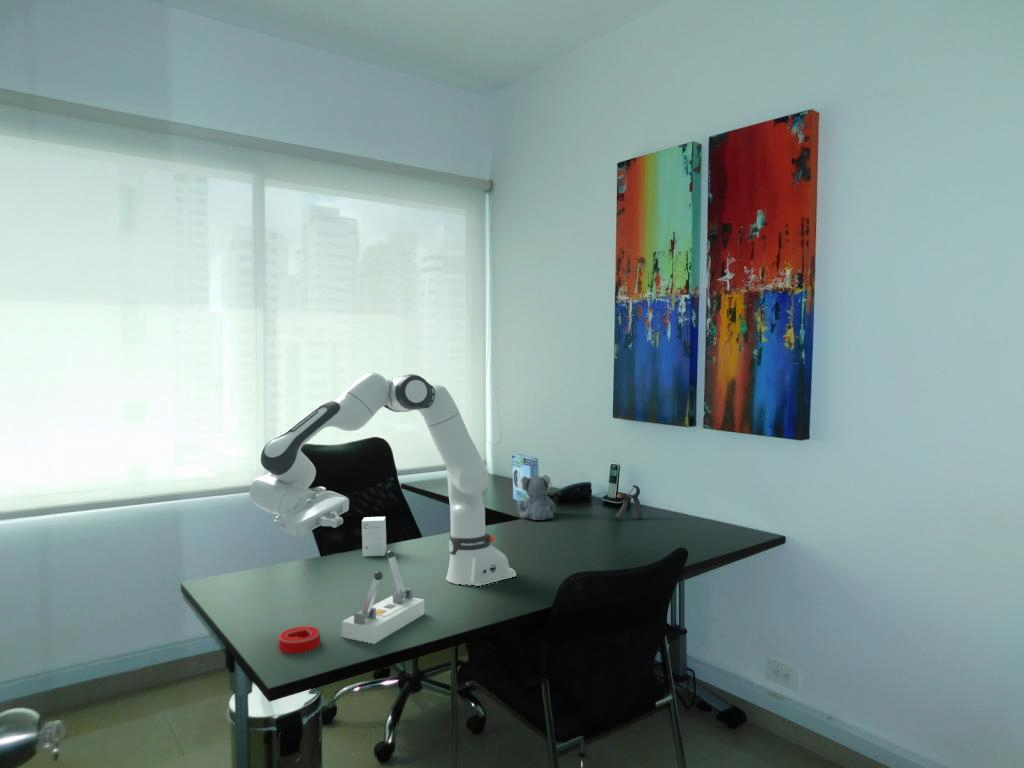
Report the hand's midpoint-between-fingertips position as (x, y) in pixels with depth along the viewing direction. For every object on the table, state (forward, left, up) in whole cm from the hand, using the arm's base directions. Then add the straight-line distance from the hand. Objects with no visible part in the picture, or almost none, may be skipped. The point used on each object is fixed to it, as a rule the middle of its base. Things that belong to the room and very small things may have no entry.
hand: (339, 523), depth 176 cm
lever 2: (-17, 0, -22) cm, 27 cm away
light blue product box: (-114, -120, -27) cm, 168 cm away
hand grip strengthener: (-137, -65, -27) cm, 155 cm away
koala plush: (-104, -87, -27) cm, 138 cm away
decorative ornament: (+12, +8, -28) cm, 31 cm away
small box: (-24, -63, -27) cm, 73 cm away
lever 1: (-4, +10, -22) cm, 24 cm away
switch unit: (-10, +5, -27) cm, 29 cm away
